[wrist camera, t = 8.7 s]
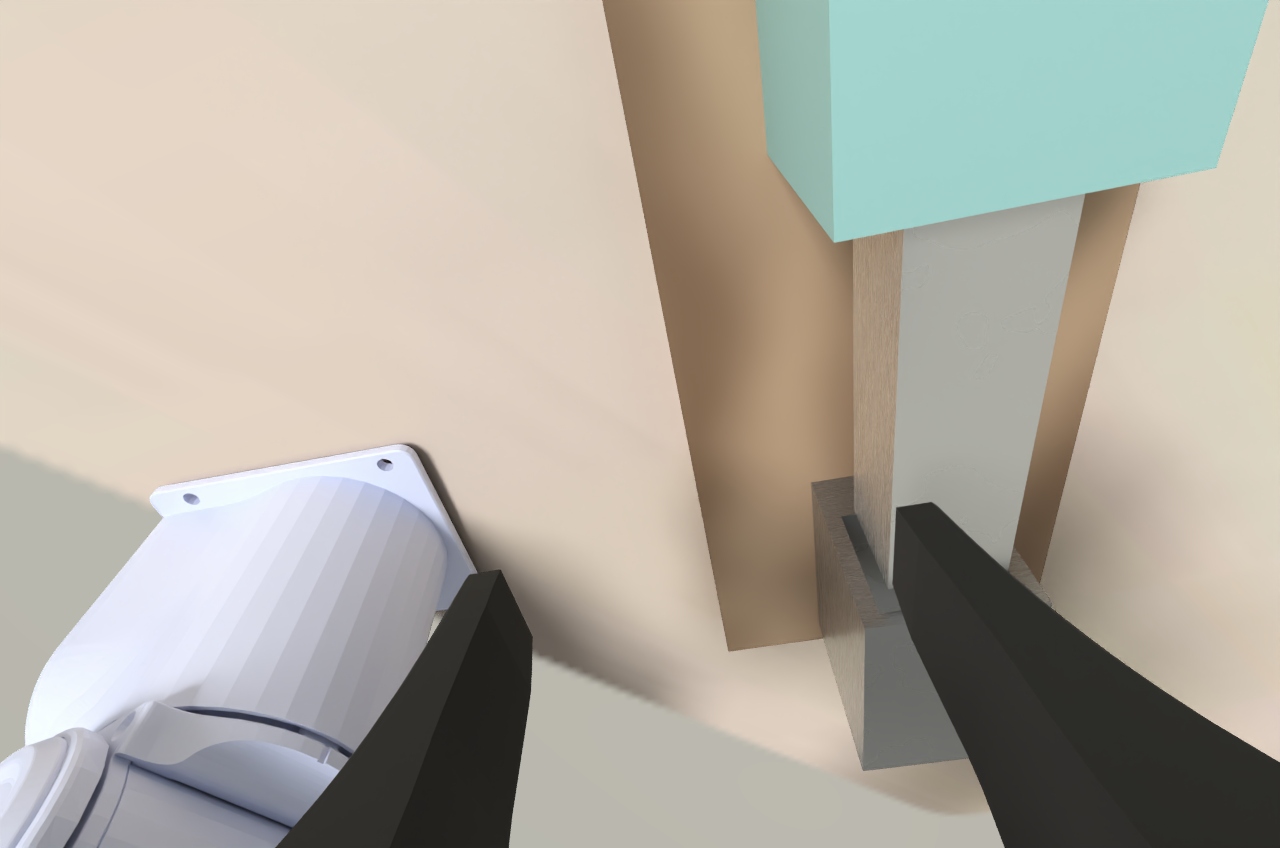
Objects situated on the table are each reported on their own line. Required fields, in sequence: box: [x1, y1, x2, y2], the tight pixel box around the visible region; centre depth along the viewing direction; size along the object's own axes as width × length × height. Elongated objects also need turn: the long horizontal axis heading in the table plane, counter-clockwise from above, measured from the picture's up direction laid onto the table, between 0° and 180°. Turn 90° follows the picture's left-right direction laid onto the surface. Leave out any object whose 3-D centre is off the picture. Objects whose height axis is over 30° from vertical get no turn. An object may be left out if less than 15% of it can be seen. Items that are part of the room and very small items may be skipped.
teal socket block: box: [755, 0, 1269, 243], centre depth 11 cm, size 6×4×6 cm
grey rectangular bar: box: [853, 194, 1085, 589], centre depth 14 cm, size 3×13×3 cm, turn 11°
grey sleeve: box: [811, 476, 1052, 771], centre depth 21 cm, size 5×8×6 cm, turn 11°
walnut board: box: [602, 0, 1140, 651], centre depth 20 cm, size 12×24×2 cm, turn 11°
